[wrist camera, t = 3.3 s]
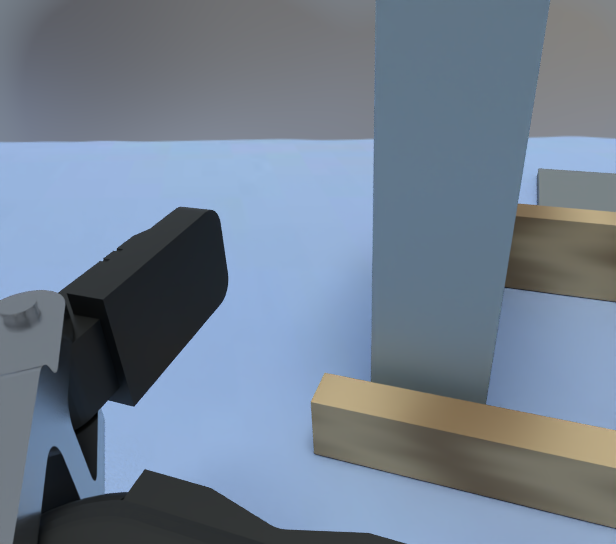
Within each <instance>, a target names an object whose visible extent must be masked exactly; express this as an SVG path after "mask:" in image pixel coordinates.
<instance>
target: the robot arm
mask: <svg viewBox="0 0 616 544" xmlns="http://www.w3.org/2000/svg"><path fill="white" fill-rule="evenodd" d="M103 259H104V260H103V261H99V262H98V263H97V264H96V265H94V266H93V267H92V268H90V269H89V270H88V271H86V272H85V273H84V274H82V275H81V276H80V277H78V278H77V279H76V280H74V281H73V282H72V283H70V284H69V285H68V286H66V287H65V288H64V289H62V290H61V291H60V292H58V293H56V292H53V291H47V290H36V291H28V292H23V293H19V294H15V295H12V296H9V297H7V298H4V299H2V300H0V544H405V543H402V542H398V541H395V540H391V539H388V538H384V537H381V536H377V535H374V534H370V533H356V532H332V531H307V530H285V529H279V528H276V527H274V526H272V525H270V524H268V523H266V522H265V521H263V520H262V519H260V518H258V517H257V516H255V515H254V514H252V513H250V512H249V511H247V510H246V509H244V508H242V507H241V506H239V505H237V504H236V503H234V502H233V501H231V500H229V499H228V498H226V497H225V496H223V495H221V494H220V493H218V492H216V491H215V490H213V489H212V488H209V487H205V486H202V485H198V484H195V483H191V482H188V481H184V480H181V479H177V478H174V477H170V476H167V475H163V474H160V473H156V472H153V471H149V470H146V469H145V470H144V471H143V473H142V474H141V475H140V477H139V478H138V479H137V481H136V482H135V484H134V485H133V486H132V488H131V489H130V491H129V492H121V493H109V494H105V420H104V416H103V413H102V410H101V407H102V406H103V405H104V404H105V403H106V402H107V401H108V400H109V401H113V402H117V403H121V404H125V405H129V406H135V405H136V404H137V403H138V401H139V400H140V399H141V398H142V397H143V396H144V394H145V393H146V392H147V391H148V390H149V388H150V387H151V386H152V385H153V384H154V383H155V381H156V380H157V379H158V378H159V377H160V375H161V374H162V373H163V372H164V371H165V369H166V368H167V367H168V366H169V365H170V364H171V362H172V361H173V360H174V359H175V358H176V356H177V355H178V354H179V353H180V352H181V351H182V349H183V348H184V347H185V346H186V345H187V343H188V342H189V341H190V340H191V339H192V337H193V336H194V335H195V334H196V333H197V332H198V330H199V329H200V328H201V327H202V326H203V324H204V323H205V322H206V321H207V320H208V319H209V317H210V316H211V315H212V314H213V313H214V311H215V310H216V309H217V308H218V307H219V306H220V304H221V303H222V301H223V300H224V297H225V295H226V292H227V287H228V271H227V264H226V257H225V250H224V243H223V236H222V230H221V223H220V219H219V216H218V214H217V213H216V212H215V211H213V210H207V209H197V208H188V207H178V208H176V209H175V210H174V211H172V212H171V213H170V214H168V215H167V216H166V217H165V218H163V219H162V220H161V221H159V222H158V223H157V224H156V225H154V226H153V227H152V228H150V229H148V230H146V231H144V232H141V233H139V234H137V235H134V236H133V237H131V238H130V239H129V240H127V241H126V242H125V243H123V244H122V245H121V246H119V247H118V248H117V251H113V252H111V253H110V254H109V255H107V256H106V257H105V258H103Z"/></svg>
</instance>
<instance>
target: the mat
mask: <svg viewBox="0 0 616 544" xmlns="http://www.w3.org/2000/svg"><path fill="white" fill-rule="evenodd" d="M537 202H538V205H540V206H551V207H563V208H574V209H586V210H597V211H609V212H616V174H612V173H597V172H582V171H568V170H553V169H538V175H537Z"/></svg>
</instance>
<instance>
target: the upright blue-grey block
mask: <svg viewBox="0 0 616 544" xmlns="http://www.w3.org/2000/svg"><path fill="white" fill-rule="evenodd" d="M549 5H550V0H376V23H375V106H374V109H375V110H374V181H373V261H372V340H371V382H374V383H379V384H384V385H389V386H394V387H399V388H404V389H409V390H414V391H419V392H424V393H429V394H434V395H439V396H444V397H449V398H455V399H460V400H465V401H470V402H475V403H480V404H485V405H486V399H487V393H488V387H489V380H490V374H491V368H492V362H493V355H494V349H495V343H496V337H497V330H498V324H499V318H500V312H501V305H502V299H503V293H504V286H505V280H506V274H507V268H508V261H509V255H510V249H511V243H512V236H513V230H514V224H515V218H516V211H517V205H518V199H519V193H520V186H521V180H522V174H523V167H524V161H525V155H526V149H527V142H528V136H529V130H530V124H531V117H532V111H533V105H534V99H535V92H536V86H537V80H538V74H539V67H540V61H541V54H542V49H543V42H544V36H545V29H546V23H547V17H548V10H549Z"/></svg>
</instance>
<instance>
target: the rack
mask: <svg viewBox="0 0 616 544" xmlns="http://www.w3.org/2000/svg"><path fill="white" fill-rule="evenodd" d="M504 287H509V288H516V289H524V290H532V291H539V292H547V293H554V294H562V295H569V296H577V297H584V298H592V299H600V300H607V301H615V302H616V212H609V211H597V210H586V209H574V208H563V207H551V206H540V205H528V204H518V205H517V211H516V218H515V224H514V230H513V236H512V243H511V249H510V255H509V261H508V268H507V274H506V280H505V286H504ZM311 413H312V428H313V444H314V454H318V455H322V456H326V457H330V458H334V459H338V460H342V461H346V462H350V463H354V464H358V465H362V466H366V467H370V468H374V469H378V470H383V471H387V472H391V473H395V474H399V475H403V476H407V477H411V478H415V479H419V480H423V481H427V482H431V483H435V484H439V485H443V486H447V487H451V488H455V489H459V490H463V491H467V492H471V493H475V494H479V495H483V496H487V497H491V498H495V499H500V500H504V501H508V502H512V503H516V504H520V505H524V506H528V507H532V508H536V509H540V510H544V511H548V512H552V513H556V514H560V515H564V516H568V517H572V518H576V519H580V520H584V521H588V522H592V523H596V524H600V525H604V526H608V527H612V528H616V430H611V429H606V428H601V427H596V426H591V425H586V424H581V423H576V422H571V421H566V420H561V419H556V418H550V417H545V416H540V415H535V414H530V413H525V412H520V411H515V410H510V409H505V408H500V407H495V406H490V405H485V404H480V403H475V402H470V401H465V400H460V399H455V398H449V397H444V396H439V395H434V394H429V393H424V392H419V391H414V390H409V389H404V388H399V387H394V386H389V385H384V384H379V383H374V382H369V381H364V380H359V379H354V378H348V377H343V376H338V375H333V374H328V373H324V375H323V377H322V380H321V382H320V384H319V386H318V388H317V390H316V392H315V394H314V396H313V398H312V400H311Z"/></svg>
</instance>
